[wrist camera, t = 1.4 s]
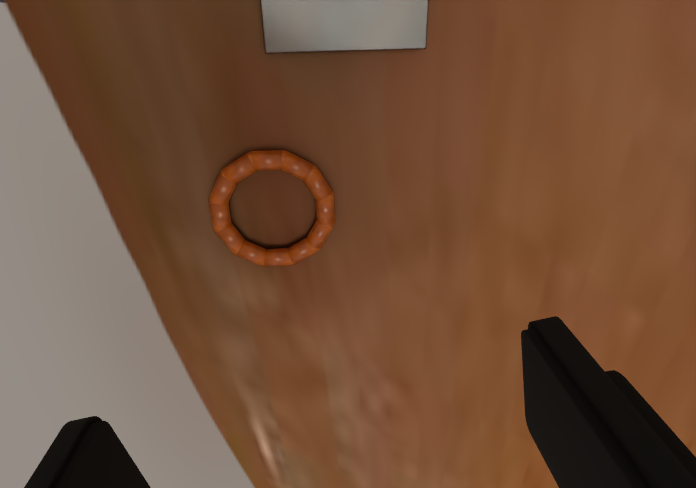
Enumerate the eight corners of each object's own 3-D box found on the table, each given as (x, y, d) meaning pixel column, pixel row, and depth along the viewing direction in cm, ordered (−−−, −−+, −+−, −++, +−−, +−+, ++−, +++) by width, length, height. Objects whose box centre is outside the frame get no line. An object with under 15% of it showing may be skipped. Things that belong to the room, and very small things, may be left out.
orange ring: (221, 263, 31) (218, 272, 30) (202, 150, 28) (198, 156, 26) (336, 257, 32) (336, 265, 31) (331, 145, 28) (332, 150, 27)
